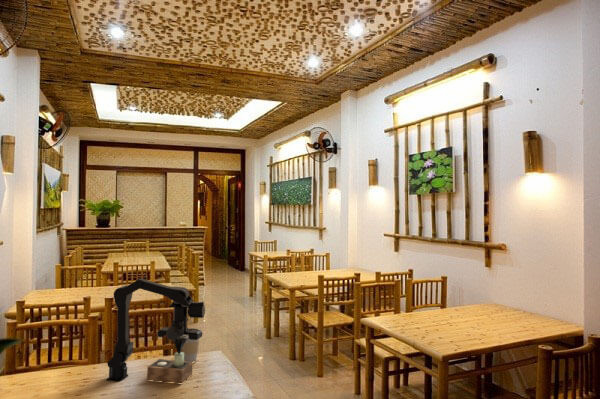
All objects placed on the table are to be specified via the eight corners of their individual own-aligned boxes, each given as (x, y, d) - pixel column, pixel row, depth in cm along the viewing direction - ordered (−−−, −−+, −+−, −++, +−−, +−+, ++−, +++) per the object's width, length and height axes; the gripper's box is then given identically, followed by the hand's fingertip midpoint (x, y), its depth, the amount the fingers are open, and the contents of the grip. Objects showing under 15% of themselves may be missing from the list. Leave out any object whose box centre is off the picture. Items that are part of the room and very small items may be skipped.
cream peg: (155, 377, 179) (155, 364, 179) (159, 374, 182) (160, 361, 183) (163, 378, 178) (163, 365, 178) (168, 374, 182) (168, 362, 182)
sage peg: (172, 367, 177) (172, 354, 177) (176, 364, 181) (177, 351, 181) (181, 368, 177) (181, 355, 177) (185, 365, 181) (185, 352, 181)
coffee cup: (203, 361, 201) (204, 330, 201) (189, 367, 193) (190, 334, 193) (190, 357, 206) (191, 326, 206) (175, 362, 198) (176, 331, 198)
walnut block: (147, 381, 176) (147, 366, 176) (158, 372, 186) (159, 358, 186) (181, 384, 173) (182, 369, 173) (192, 375, 183) (192, 361, 183)
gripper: (151, 320, 173) (149, 357, 173) (192, 323, 170) (191, 361, 170) (164, 314, 184) (163, 349, 184) (203, 316, 181) (202, 352, 181)
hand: (179, 353), depth 179 cm, fingers closed
